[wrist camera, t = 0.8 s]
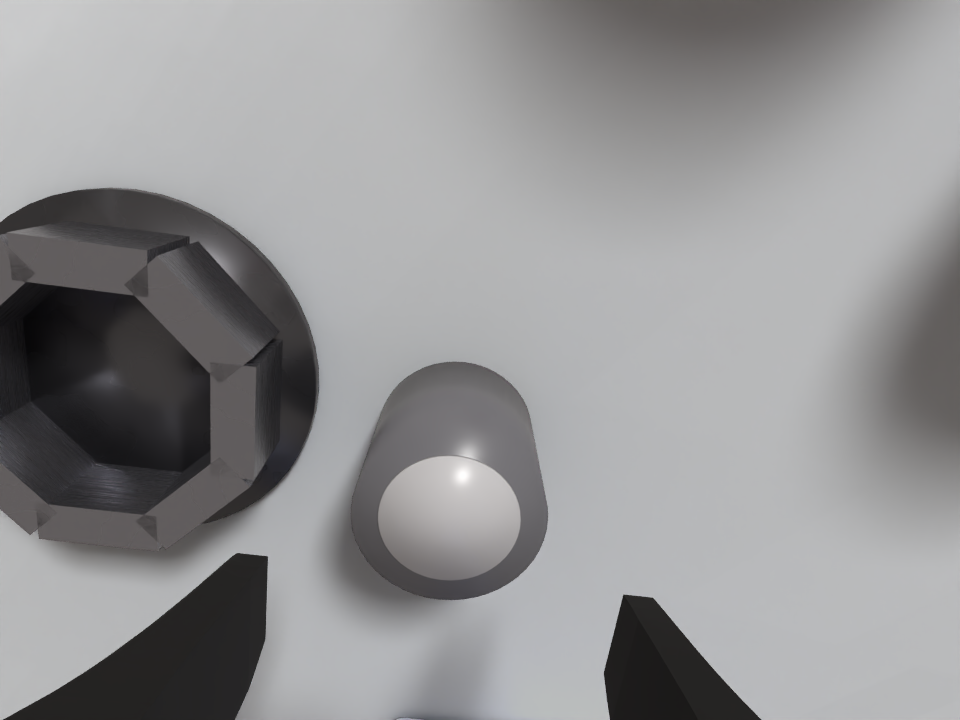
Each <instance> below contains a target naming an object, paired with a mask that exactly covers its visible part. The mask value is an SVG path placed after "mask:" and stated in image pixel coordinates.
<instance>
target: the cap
mask: <svg viewBox="0 0 960 720" xmlns="http://www.w3.org/2000/svg"><path fill="white" fill-rule="evenodd" d="M547 522H548V507H547V502H546V496H545V491H544V486H543V481H542V476H541V471H540V466H539V460H538V455H537V450H536V445H535V440H534V435H533V430H532V424H531V419H530V415H529V412H528V409H527V406H526V404H525V402H524V400H523V398H522V397H521V396H520V394H519V393H518V391H517V390H516V389H515V388H514V387H513V386H512V385H511V383H509V382H508V381H507V380H506V379H505V378H503V377H502V376H500V375H499V374H497V373H496V372H494V371H492V370H490V369H487V368H485V367H482V366H479V365H476V364H471V363H466V362H444V363H438V364H434V365H430V366H427V367H424V368H422V369H420V370H418V371H416V372H414V373H413V374H411V375H410V376H408V377H407V378H405V379H404V380H403V381H402V382H401V383H399V385H398V386H397V387H396V388H395V389H394V390H393V391H392V393H391V394H390V396H389V397H388V399H387V401H386V403H385V405H384V407H383V410H382V413H381V416H380V419H379V422H378V425H377V427H376V430H375V433H374V436H373V439H372V442H371V445H370V447H369V450H368V453H367V456H366V459H365V462H364V465H363V467H362V470H361V473H360V476H359V479H358V482H357V484H356V488H355V491H354V494H353V498H352V504H351V523H352V529H353V533H354V536H355V539H356V542H357V544H358V546H359V548H360V551H361V552H362V554H363V555H364V557H365V558H366V560H367V561H368V562H369V563H370V565H371V566H372V567H373V568H374V569H375V570H376V571H377V572H378V573H379V574H380V575H381V576H382V577H384V578H385V579H387V580H388V581H389V582H391V583H392V584H394V585H396V586H398V587H400V588H401V589H403V590H406V591H408V592H411V593H413V594H416V595H420V596H423V597H427V598H434V599H442V600H459V599H468V598H474V597H478V596H481V595H485V594H488V593H490V592H493V591H495V590H498V589H499V588H501V587H503V586H505V585H507V584H508V583H510V582H511V581H513V580H514V579H515V578H517V577H518V576H519V575H520V574H521V573H522V572H523V571H524V570H526V568H527V567H528V566H529V565H530V564H531V562H532V561H533V560H534V558H535V557H536V555H537V553H538V552H539V550H540V548H541V545H542V543H543V541H544V537H545V534H546V530H547Z"/></svg>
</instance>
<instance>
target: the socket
mask: <svg viewBox="0 0 960 720" xmlns="http://www.w3.org/2000/svg"><path fill="white" fill-rule="evenodd" d="M318 394H319V367H318V361H317V354H316V348H315V344H314V341H313V337H312V334H311V330H310V327H309V324H308V322H307V320H306V317H305V315H304V313H303V310H302V308H301V306H300V304H299V302H298V300H297V299H296V297H295V295H294V294H293V292H292V290H291V289H290V287H289V285H288V284H287V282H286V281H285V279H284V278H283V277H282V276H281V274H280V273H279V272H278V270H277V269H276V268H275V267H274V265H273V264H272V263H271V262H270V261H269V260H268V259H267V258H266V257H265V256H264V255H263V254H262V253H261V251H260V250H259V249H258V248H257V247H256V246H255V245H254V244H252V243H251V242H250V241H249V240H247V239H246V238H245V237H244V236H242V235H241V234H240V233H239V232H237V231H236V230H235V229H234V228H232V227H231V226H229V225H227V224H226V223H224V222H223V221H221V220H219V219H218V218H216V217H215V216H213V215H211V214H210V213H207V212H205V211H203V210H201V209H199V208H197V207H195V206H193V205H190V204H188V203H186V202H183V201H180V200H177V199H174V198H171V197H168V196H165V195H162V194H157V193H152V192H147V191H142V190H137V189H122V188H100V189H85V190H77V191H72V192H67V193H63V194H58V195H53V196H50V197H47V198H44V199H42V200H39V201H36V202H34V203H31V204H29V205H27V206H25V207H23V208H22V209H20V210H18V211H16V212H15V213H13V214H11V215H9V216H8V217H7V218H5V219H4V220H3V221H2V222H0V509H1V510H2V511H3V512H4V513H5V514H6V515H8V516H9V517H10V518H11V519H12V520H13V521H15V522H16V523H17V524H18V525H19V526H20V527H21V528H23V529H24V530H25V531H26V532H27V533H28V534H30V535H31V534H32V533H33V532H34V531H36V530H37V529H38V534H39V539H46V540H55V541H64V542H74V543H83V544H92V545H102V546H111V547H120V548H130V549H139V550H148V551H158V550H159V549H160V548H161V546H163V547H164V548H165V549H167V548H169V547H170V546H171V545H173V544H174V543H175V542H177V541H178V540H179V539H181V538H182V537H183V536H185V535H186V534H188V533H189V532H190V531H192V530H193V529H194V528H196V527H197V526H198V525H200V524H204V523H208V522H211V521H215V520H218V519H221V518H224V517H227V516H229V515H231V514H234V513H236V512H238V511H240V510H242V509H244V508H246V507H247V506H249V505H251V504H252V503H254V502H255V501H257V500H258V499H260V498H261V497H262V496H264V495H265V494H266V493H267V492H268V491H270V490H271V489H272V488H273V487H274V486H275V485H276V484H277V483H278V482H279V481H280V480H281V479H282V477H283V476H284V475H285V474H286V473H287V472H288V471H289V469H290V467H291V466H292V464H293V463H294V461H295V460H296V458H297V457H298V455H299V453H300V452H301V450H302V448H303V446H304V444H305V442H306V439H307V437H308V435H309V433H310V430H311V428H312V424H313V420H314V417H315V413H316V409H317V401H318Z"/></svg>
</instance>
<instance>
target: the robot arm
mask: <svg viewBox="0 0 960 720" xmlns="http://www.w3.org/2000/svg"><path fill="white" fill-rule="evenodd" d="M267 566H268V556H259V555H250V554H240V553H237V554H235V555H234V556H232V557H231V558H230V559H229V560H228V561H226V562H225V563H224V564H223V565H222V566H221V567H219V568H218V569H217V570H216V571H215V572H214V573H213V574H211V575H210V576H209V577H208V578H207V579H206V580H204V581H203V582H202V583H201V584H200V585H199V586H198V587H196V588H195V589H194V590H193V591H192V592H190V593H189V594H188V595H187V596H186V597H185V598H183V599H182V600H181V601H180V602H178V603H177V604H176V605H175V606H174V607H172V608H171V609H170V610H169V611H167V612H166V613H165V614H164V615H162V616H161V617H160V618H159V619H158V620H156V621H155V622H154V623H152V624H151V625H150V626H149V627H147V628H146V629H145V630H143V631H142V632H141V633H139V634H138V635H137V636H135V637H134V638H132V639H131V640H130V641H128V642H127V643H126V644H124V645H123V646H122V647H120V648H119V649H118V650H116V651H115V652H114V653H112V654H111V655H109V656H108V657H106V658H105V659H104V660H102V661H101V662H99V663H98V664H96V665H95V666H93V667H92V668H90V669H89V670H87V671H86V672H84V673H83V674H81V675H80V676H78V677H76V678H75V679H73V680H72V681H70V682H68V683H67V684H65V685H64V686H62V687H60V688H59V689H57V690H55V691H54V692H52V693H50V694H49V695H47V696H45V697H43V698H42V699H40V700H38V701H36V702H34V703H33V704H31V705H29V706H27V707H25V708H23V709H22V710H20V711H18V712H16V713H14V714H13V715H11V716H9V717H7V718H5V719H4V720H235V718H236V716H237V714H238V711H239V709H240V707H241V705H242V703H243V701H244V698H245V696H246V694H247V692H248V690H249V687H250V684H251V681H252V678H253V675H254V672H255V669H256V666H257V663H258V660H259V657H260V654H261V651H262V648H263V645H264V642H265V634H266V600H267ZM604 678H605V686H606V694H607V702H608V709H609V716H610V720H761V719H760V718H759V717H758V716H757V715H756V714H755V713H754V712H753V711H752V710H751V709H750V708H749V707H748V706H747V705H746V704H745V703H744V702H743V701H742V700H741V699H740V698H739V697H738V695H737V694H736V693H735V692H734V691H733V690H732V689H731V688H730V687H729V686H728V685H727V684H726V683H725V681H724V680H723V679H722V678H721V677H720V676H719V675H718V674H717V673H716V671H715V670H714V669H713V668H712V667H711V666H710V665H709V663H708V662H707V661H706V660H705V659H704V658H703V657H702V655H701V654H700V653H699V652H698V651H697V650H696V648H695V647H694V646H693V645H692V644H691V643H690V641H689V640H688V639H687V638H686V637H685V635H684V634H683V633H682V632H681V631H680V629H679V628H678V627H677V626H676V625H675V623H674V622H673V621H672V620H671V619H670V617H669V616H668V615H667V614H666V613H665V611H664V610H663V609H662V608H661V607H660V605H659V604H658V603H657V602H656V601H655V600H654V599H653V598H650V597H641V596H631V595H623V599H622V603H621V607H620V611H619V615H618V619H617V623H616V627H615V631H614V635H613V639H612V643H611V647H610V651H609V655H608V659H607V663H606V667H605V671H604ZM397 720H422V719H412V718H399V719H397Z"/></svg>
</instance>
